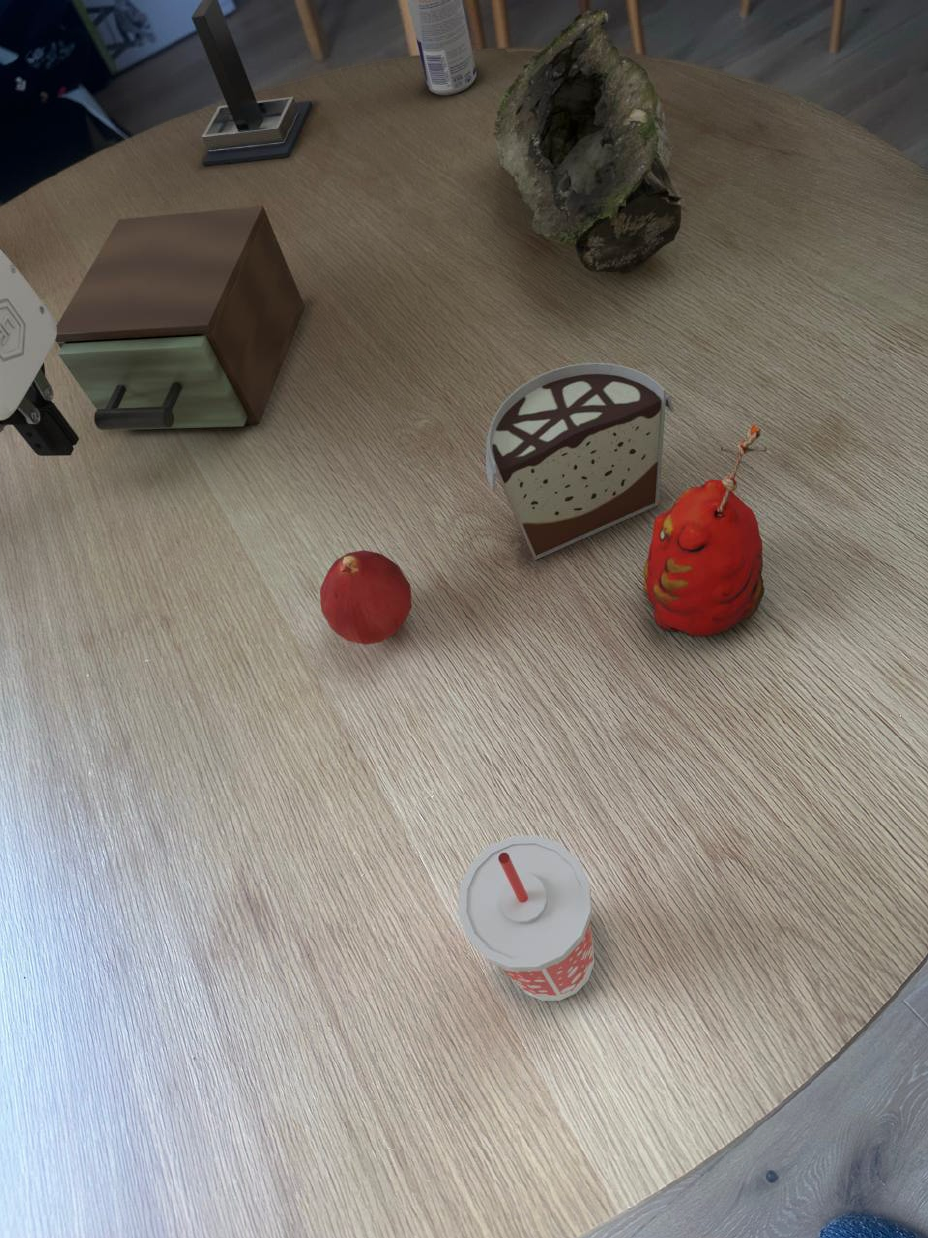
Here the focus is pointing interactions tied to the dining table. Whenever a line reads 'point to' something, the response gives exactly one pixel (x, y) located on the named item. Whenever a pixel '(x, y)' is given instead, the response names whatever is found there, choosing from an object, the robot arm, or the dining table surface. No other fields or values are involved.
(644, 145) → the mossy hollow log
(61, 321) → the cabinet
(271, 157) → the desk mat
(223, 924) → the dining table surface
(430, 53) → the energy drink
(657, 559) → the red clay folk toy
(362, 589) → the onion
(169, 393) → the drawer
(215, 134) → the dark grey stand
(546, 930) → the beverage cup
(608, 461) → the food container
